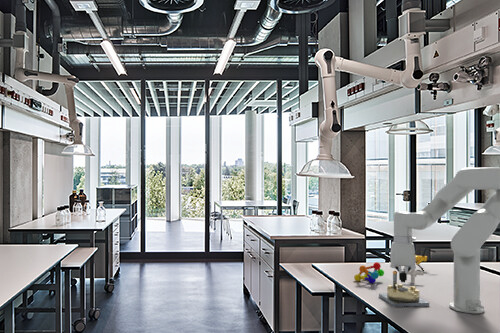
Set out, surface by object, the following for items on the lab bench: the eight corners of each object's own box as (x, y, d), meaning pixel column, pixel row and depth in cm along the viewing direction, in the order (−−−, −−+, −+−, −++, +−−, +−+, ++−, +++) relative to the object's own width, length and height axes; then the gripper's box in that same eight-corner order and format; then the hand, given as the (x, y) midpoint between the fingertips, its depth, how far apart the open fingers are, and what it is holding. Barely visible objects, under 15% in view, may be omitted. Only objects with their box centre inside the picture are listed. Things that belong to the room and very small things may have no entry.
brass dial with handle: (426, 299, 178) (426, 275, 178) (402, 303, 173) (402, 277, 173) (403, 292, 190) (403, 269, 190) (380, 294, 185) (380, 271, 185)
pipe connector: (425, 286, 209) (425, 265, 209) (403, 284, 211) (404, 264, 211) (421, 281, 218) (421, 262, 219) (400, 280, 220) (401, 260, 221)
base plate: (429, 306, 175) (429, 301, 175) (394, 307, 173) (394, 302, 173) (410, 296, 190) (410, 292, 190) (378, 297, 188) (378, 292, 188)
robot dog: (436, 272, 241) (436, 248, 242) (402, 269, 247) (402, 246, 247) (435, 270, 247) (435, 247, 247) (402, 268, 252) (402, 245, 253)
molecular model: (353, 289, 213) (378, 281, 204) (346, 271, 216) (370, 261, 207) (368, 284, 224) (393, 276, 215) (361, 267, 227) (385, 258, 218)
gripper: (419, 239, 188) (419, 280, 188) (384, 238, 192) (384, 278, 191) (422, 241, 181) (422, 284, 180) (385, 240, 184) (385, 282, 184)
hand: (402, 281), depth 186 cm, fingers closed
